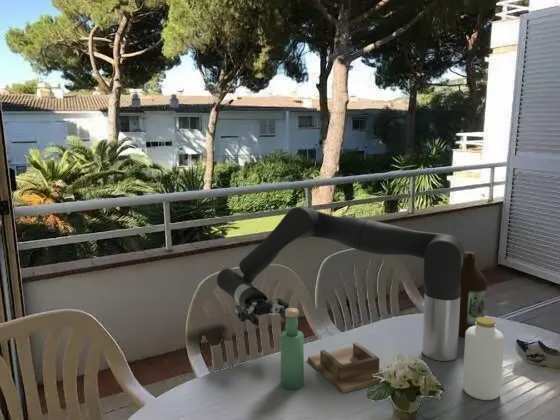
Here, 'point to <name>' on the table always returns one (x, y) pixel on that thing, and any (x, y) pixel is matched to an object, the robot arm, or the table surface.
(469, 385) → the potion bottle
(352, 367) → the bottle rest
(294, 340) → the bottle
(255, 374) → the table surface
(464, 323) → the olive oil
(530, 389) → the table surface
